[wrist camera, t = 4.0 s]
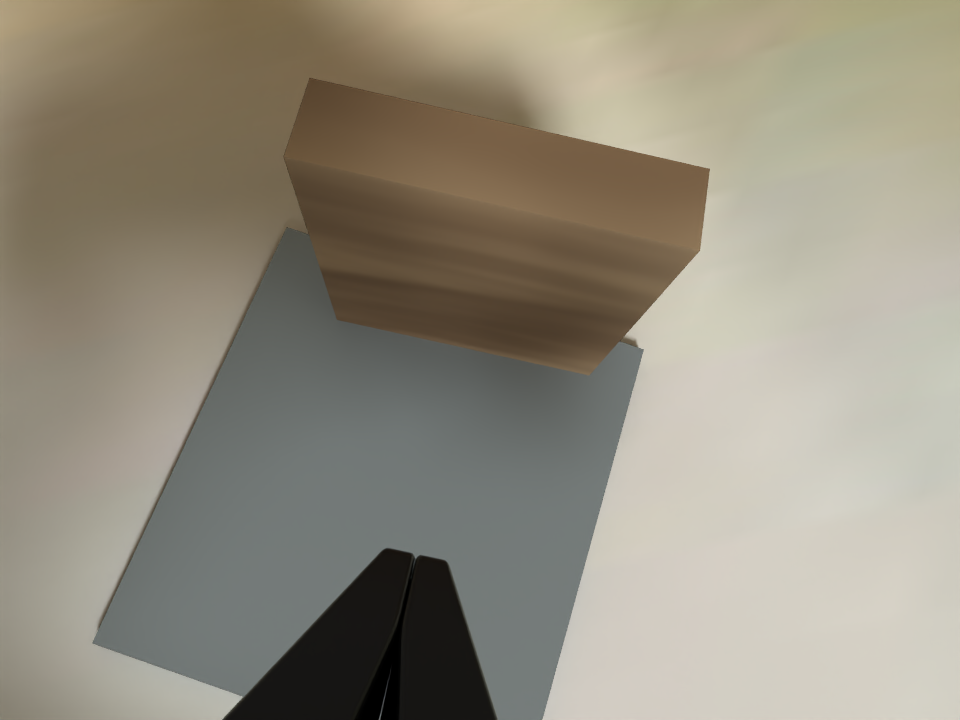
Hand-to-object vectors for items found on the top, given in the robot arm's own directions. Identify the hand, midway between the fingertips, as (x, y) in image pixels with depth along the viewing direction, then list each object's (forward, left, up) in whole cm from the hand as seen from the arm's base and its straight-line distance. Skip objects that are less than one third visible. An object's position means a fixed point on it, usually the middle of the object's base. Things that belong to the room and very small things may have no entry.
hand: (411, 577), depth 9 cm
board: (+8, +1, -11) cm, 14 cm away
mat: (+2, +1, -12) cm, 12 cm away
